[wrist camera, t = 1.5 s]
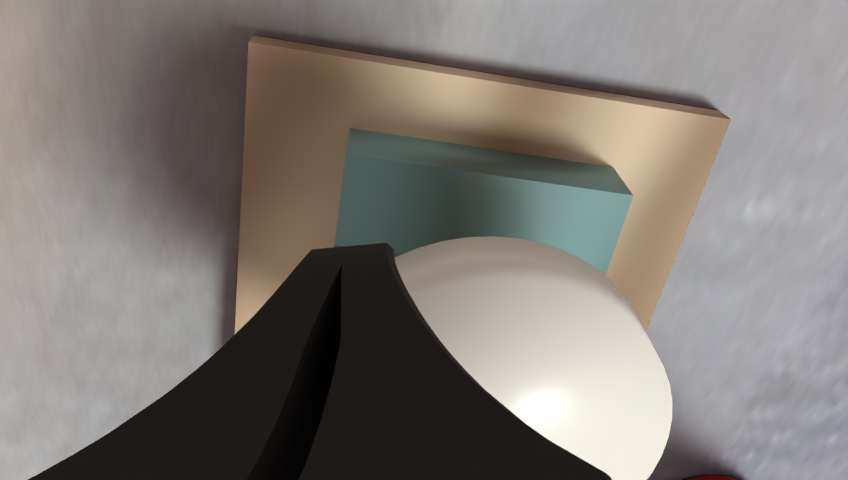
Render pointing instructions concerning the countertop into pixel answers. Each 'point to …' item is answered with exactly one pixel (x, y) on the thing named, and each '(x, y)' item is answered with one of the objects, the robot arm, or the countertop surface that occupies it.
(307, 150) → the dispenser base
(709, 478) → the plastic cup
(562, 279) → the disc
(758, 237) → the countertop surface
